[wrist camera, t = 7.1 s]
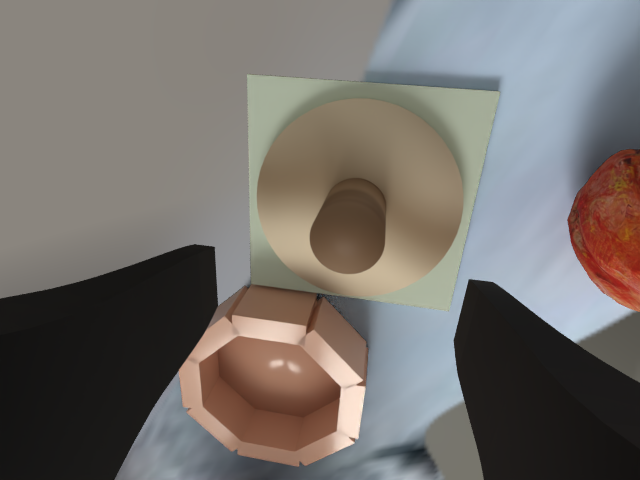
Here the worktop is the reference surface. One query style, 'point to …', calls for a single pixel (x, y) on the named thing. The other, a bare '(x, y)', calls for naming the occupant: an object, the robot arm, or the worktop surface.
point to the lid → (360, 197)
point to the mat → (426, 102)
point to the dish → (277, 376)
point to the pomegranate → (610, 227)
